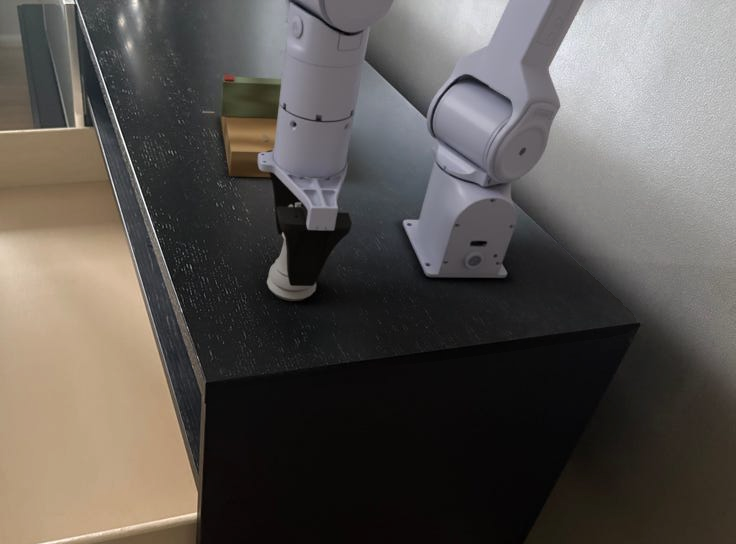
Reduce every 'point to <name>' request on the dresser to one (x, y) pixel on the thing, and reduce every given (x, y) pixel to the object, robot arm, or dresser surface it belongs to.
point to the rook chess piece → (286, 277)
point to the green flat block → (250, 97)
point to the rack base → (247, 143)
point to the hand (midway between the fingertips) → (294, 257)
